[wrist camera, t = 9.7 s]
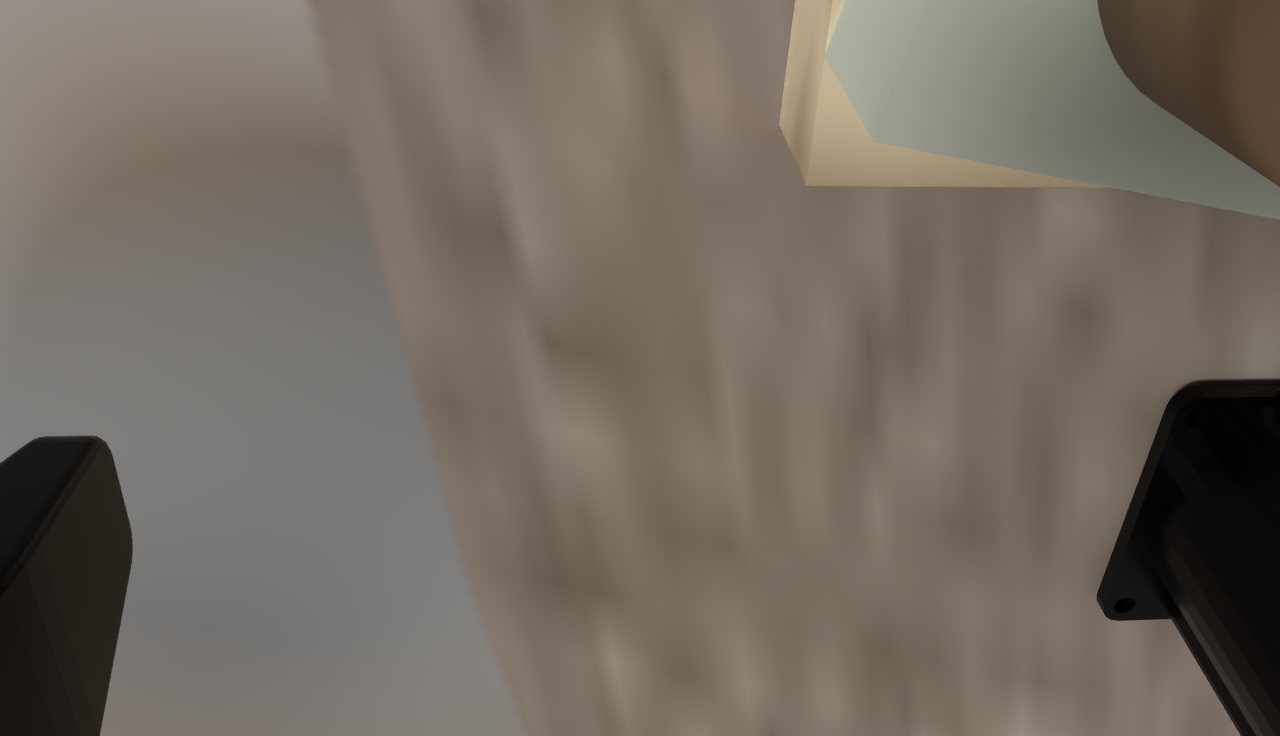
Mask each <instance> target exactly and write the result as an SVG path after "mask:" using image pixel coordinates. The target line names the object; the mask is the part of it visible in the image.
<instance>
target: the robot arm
mask: <svg viewBox="0 0 1280 736" xmlns="http://www.w3.org/2000/svg"><path fill="white" fill-rule="evenodd" d="M1196 408H1199V409H1198V410H1197V411H1196V412H1194V413H1193V414H1189V412H1191V411H1192V410H1194V409H1196ZM1188 414H1189V415H1188ZM132 547H133V546H132V532H131V527H130V522H129V519H128V515H127V511H126V507H125V503H124V499H123V495H122V491H121V487H120V483H119V479H118V475H117V471H116V467H115V463H114V460H113V456H112V453H111V450H110V449H109V447H108V445H107V444H106V442H105V441H103V440H102V439H100V438H99V437H97V436H46V437H39V438H36V439H34V440H32V441H30V442H29V443H27V444H26V445H24V446H23V447H21V448H20V449H19V450H17V451H16V452H15V453H13V454H12V455H10V456H9V457H8V458H6V459H5V460H4V461H2V462H1V463H0V736H100V731H101V727H102V721H103V716H104V710H105V705H106V700H107V694H108V689H109V683H110V678H111V672H112V667H113V661H114V656H115V651H116V645H117V640H118V635H119V629H120V624H121V619H122V613H123V608H124V602H125V597H126V591H127V585H128V581H129V575H130V570H131V563H132V552H133V550H132V549H133V548H132ZM1097 601H1098V603H1099V605H1100V607H1101V609H1102V611H1103V612H1104V614H1105V616H1106V617H1107V618H1109V619H1111V620H1117V621H1123V620H1151V619H1172V621H1173V623H1174V624H1175V626H1176V628H1177V629H1178V631H1179V633H1180V634H1181V636H1182V638H1183V639H1184V641H1185V643H1186V644H1187V646H1188V648H1189V649H1190V651H1191V653H1192V654H1193V656H1194V658H1195V659H1196V661H1197V663H1198V665H1199V666H1200V668H1201V670H1202V671H1203V673H1204V675H1205V676H1206V678H1207V680H1208V681H1209V683H1210V685H1211V686H1212V688H1213V690H1214V691H1215V693H1216V695H1217V696H1218V698H1219V700H1220V701H1221V703H1222V705H1223V707H1224V708H1225V710H1226V712H1227V713H1228V715H1229V717H1230V718H1231V720H1232V722H1233V723H1234V725H1235V727H1236V728H1237V730H1238V732H1239V733H1240V735H1241V736H1280V385H1236V386H1194V387H1189V388H1186V389H1184V390H1182V391H1179V392H1178V393H1177V394H1175V395H1174V396H1173V397H1172V398H1171V399H1170V401H1169V402H1168V404H1167V406H1166V408H1165V411H1164V414H1163V416H1162V419H1161V422H1160V425H1159V427H1158V430H1157V433H1156V435H1155V438H1154V441H1153V444H1152V446H1151V449H1150V452H1149V454H1148V457H1147V460H1146V463H1145V465H1144V468H1143V471H1142V473H1141V476H1140V479H1139V482H1138V484H1137V487H1136V490H1135V492H1134V495H1133V498H1132V501H1131V503H1130V506H1129V509H1128V511H1127V514H1126V517H1125V520H1124V522H1123V525H1122V528H1121V530H1120V533H1119V536H1118V538H1117V541H1116V544H1115V547H1114V549H1113V552H1112V555H1111V557H1110V560H1109V563H1108V566H1107V568H1106V571H1105V574H1104V576H1103V579H1102V582H1101V585H1100V587H1099V590H1098V593H1097Z"/></svg>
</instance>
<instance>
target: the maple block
mask: <svg viewBox="0 0 1280 736" xmlns="http://www.w3.org/2000/svg"><path fill="white" fill-rule="evenodd" d="M842 1H843V0H795V6H794V14H793V21H792V29H791V37H790V45H789V53H788V61H787V69H786V77H785V85H784V93H783V101H782V108H781V116H780V124H779V125H780V127H781V130H782V132H783V134H784V137H785V139H786V141H787V144H788V146H789V148H790V150H791V153H792V155H793V157H794V160H795V162H796V164H797V167H798V169H799V171H800V173H801V176H802V178H803V180H804V183H805V185H806V186H908V187H1047V188H1111V187H1105V186H1100V185H1095V184H1090V183H1085V182H1079V181H1074V180H1069V179H1064V178H1059V177H1053V176H1048V175H1043V174H1038V173H1033V172H1027V171H1022V170H1017V169H1012V168H1007V167H1001V166H996V165H991V164H986V163H981V162H975V161H970V160H965V159H960V158H955V157H949V156H944V155H939V154H934V153H929V152H923V151H918V150H913V149H908V148H903V147H897V146H892V145H887V144H882V143H877V142H873V141H872V139H871V137H870V136H869V134H868V132H867V130H866V129H865V127H864V125H863V123H862V121H861V120H860V118H859V116H858V114H857V113H856V111H855V109H854V107H853V106H852V104H851V102H850V100H849V99H848V97H847V95H846V93H845V92H844V90H843V88H842V86H841V85H840V83H839V81H838V79H837V78H836V76H835V74H834V72H833V71H832V69H831V67H830V65H829V64H828V62H827V60H826V58H825V57H824V55H825V52H826V49H827V46H828V43H829V40H830V37H831V34H832V31H833V28H834V25H835V22H836V19H837V16H838V13H839V10H840V7H841V4H842Z"/></svg>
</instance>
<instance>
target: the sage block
mask: <svg viewBox="0 0 1280 736" xmlns="http://www.w3.org/2000/svg"><path fill="white" fill-rule="evenodd" d="M824 57H825V58H826V60H827V62H828V64H829V65H830V67H831V69H832V71H833V72H834V74H835V76H836V78H837V79H838V81H839V83H840V85H841V86H842V88H843V90H844V92H845V93H846V95H847V97H848V99H849V100H850V102H851V104H852V106H853V107H854V109H855V111H856V113H857V114H858V116H859V118H860V120H861V121H862V123H863V125H864V127H865V129H866V130H867V132H868V134H869V136H870V137H871V139H872V141H873V142H877V143H882V144H887V145H892V146H897V147H903V148H908V149H913V150H918V151H923V152H929V153H934V154H939V155H944V156H949V157H955V158H960V159H965V160H970V161H975V162H981V163H986V164H991V165H996V166H1001V167H1007V168H1012V169H1017V170H1022V171H1027V172H1033V173H1038V174H1043V175H1048V176H1053V177H1059V178H1064V179H1069V180H1074V181H1079V182H1085V183H1090V184H1095V185H1100V186H1105V187H1111V188H1116V189H1121V190H1126V191H1131V192H1137V193H1142V194H1147V195H1152V196H1157V197H1163V198H1168V199H1173V200H1178V201H1183V202H1189V203H1194V204H1199V205H1204V206H1209V207H1215V208H1220V209H1225V210H1230V211H1235V212H1241V213H1246V214H1251V215H1256V216H1261V217H1267V218H1272V219H1277V220H1280V187H1279V186H1278V185H1276V184H1275V183H1273V182H1272V181H1270V180H1269V179H1267V178H1266V177H1264V176H1263V175H1261V174H1260V173H1258V172H1257V171H1255V170H1254V169H1252V168H1251V167H1249V166H1248V165H1246V164H1245V163H1243V162H1242V161H1240V160H1239V159H1237V158H1236V157H1234V156H1233V155H1231V154H1230V153H1228V152H1227V151H1225V150H1224V149H1222V148H1221V147H1219V146H1218V145H1216V144H1215V143H1213V142H1212V141H1210V140H1209V139H1208V138H1206V137H1205V136H1203V135H1202V134H1200V133H1199V132H1197V131H1196V130H1194V129H1193V128H1191V127H1190V126H1188V125H1187V124H1185V123H1184V122H1182V121H1181V120H1179V119H1178V118H1176V117H1175V116H1173V115H1172V114H1170V113H1169V112H1167V111H1166V110H1164V109H1163V108H1161V107H1160V106H1158V105H1157V104H1156V103H1154V102H1153V101H1152V100H1150V99H1149V98H1148V97H1146V96H1145V95H1144V94H1143V93H1141V92H1140V91H1139V90H1138V89H1137V88H1136V87H1135V85H1134V84H1133V83H1132V82H1131V81H1130V80H1129V79H1128V78H1127V77H1126V75H1125V74H1124V72H1123V71H1122V69H1121V68H1120V66H1119V64H1118V63H1117V61H1116V60H1115V58H1114V56H1113V54H1112V52H1111V49H1110V47H1109V45H1108V42H1107V40H1106V38H1105V35H1104V31H1103V27H1102V23H1101V19H1100V16H1099V11H1098V2H1097V0H843V1H842V4H841V7H840V10H839V13H838V16H837V19H836V22H835V25H834V28H833V31H832V34H831V37H830V40H829V43H828V46H827V49H826V52H825V55H824Z"/></svg>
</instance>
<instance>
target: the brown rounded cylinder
mask: <svg viewBox="0 0 1280 736" xmlns="http://www.w3.org/2000/svg"><path fill="white" fill-rule="evenodd" d="M1097 2H1098V11H1099V16H1100V19H1101V23H1102V27H1103V31H1104V35H1105V38H1106V40H1107V42H1108V45H1109V47H1110V49H1111V52H1112V54H1113V56H1114V58H1115V60H1116V61H1117V63H1118V64H1119V66H1120V68H1121V69H1122V71H1123V72H1124V74H1125V75H1126V77H1127V78H1128V79H1129V80H1130V81H1131V82H1132V83H1133V84H1134V85H1135V87H1136V88H1137V89H1138V90H1139V91H1140V92H1141V93H1143V94H1144V95H1145V96H1146V97H1148V98H1149V99H1150V100H1152V101H1153V102H1154V103H1156V104H1157V105H1158V106H1160V107H1161V108H1163V109H1164V110H1166V111H1167V112H1169V113H1170V114H1172V115H1173V116H1175V117H1176V118H1178V119H1179V120H1181V121H1182V122H1184V123H1185V124H1187V125H1188V126H1190V127H1191V128H1193V129H1194V130H1196V131H1197V132H1199V133H1200V134H1202V135H1203V136H1205V137H1206V138H1208V139H1209V140H1210V141H1212V142H1213V143H1215V144H1216V145H1218V146H1219V147H1221V148H1222V149H1224V150H1225V151H1227V152H1228V153H1230V154H1231V155H1233V156H1234V157H1236V158H1237V159H1239V160H1240V161H1242V162H1243V163H1245V164H1246V165H1248V166H1249V167H1251V168H1252V169H1254V170H1255V171H1257V172H1258V173H1260V174H1261V175H1263V176H1264V177H1266V178H1267V179H1269V180H1270V181H1272V182H1273V183H1275V184H1276V185H1278V186H1279V187H1280V0H1097Z"/></svg>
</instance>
